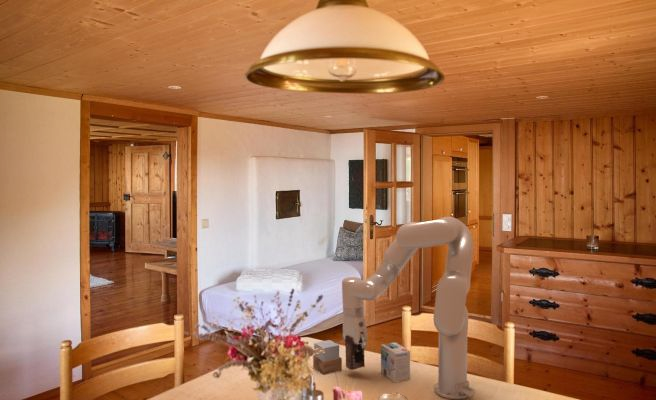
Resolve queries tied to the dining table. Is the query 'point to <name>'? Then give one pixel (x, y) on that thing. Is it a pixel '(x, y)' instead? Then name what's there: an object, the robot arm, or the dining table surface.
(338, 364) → the tower base
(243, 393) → the dining table surface
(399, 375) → the light bulb box
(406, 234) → the robot arm
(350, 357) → the box
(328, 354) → the tower top
